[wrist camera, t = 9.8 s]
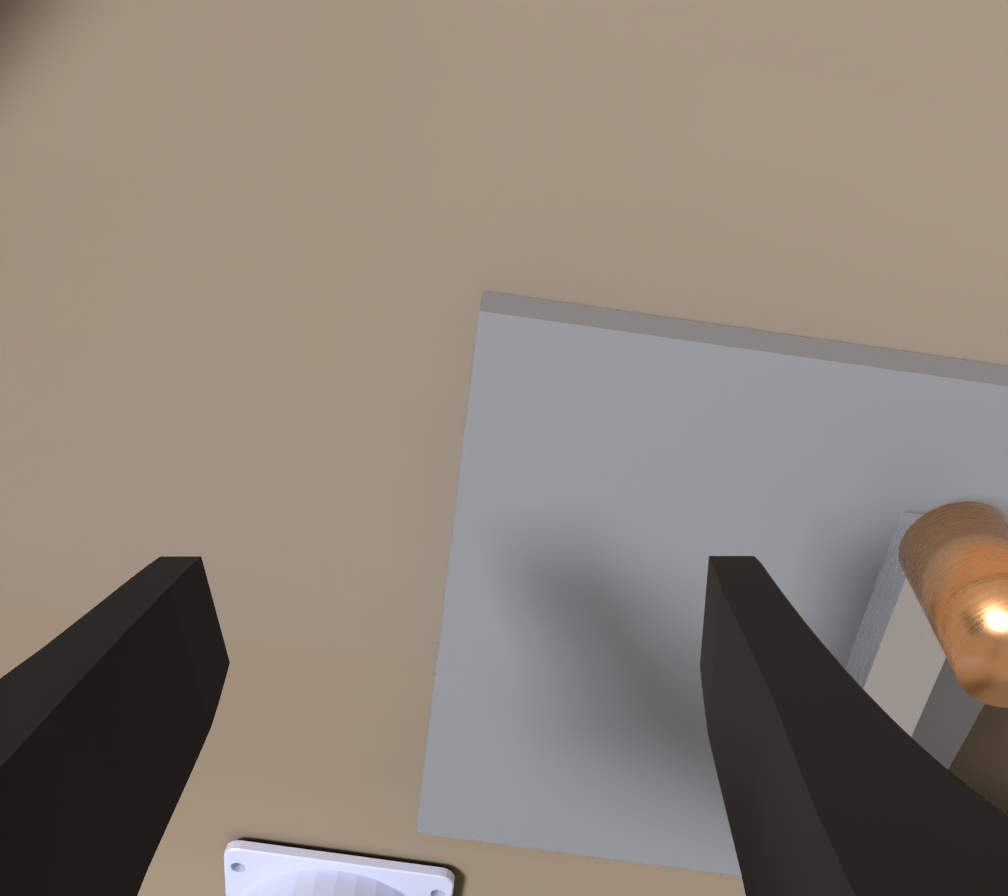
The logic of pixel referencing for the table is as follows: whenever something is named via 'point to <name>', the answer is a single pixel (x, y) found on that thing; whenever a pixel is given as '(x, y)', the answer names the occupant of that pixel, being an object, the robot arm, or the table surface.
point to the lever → (937, 611)
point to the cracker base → (666, 555)
